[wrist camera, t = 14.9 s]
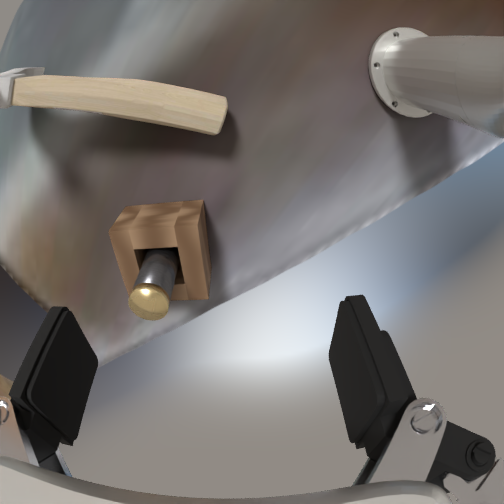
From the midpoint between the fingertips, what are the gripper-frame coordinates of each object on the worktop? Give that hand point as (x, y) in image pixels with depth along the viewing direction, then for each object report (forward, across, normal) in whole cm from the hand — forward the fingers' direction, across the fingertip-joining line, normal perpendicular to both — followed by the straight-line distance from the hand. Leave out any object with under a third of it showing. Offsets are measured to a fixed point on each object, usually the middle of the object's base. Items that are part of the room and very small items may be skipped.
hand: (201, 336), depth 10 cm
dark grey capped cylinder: (+30, +9, +14) cm, 34 cm away
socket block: (+30, +9, +14) cm, 34 cm away
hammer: (+31, +14, -8) cm, 35 cm away
